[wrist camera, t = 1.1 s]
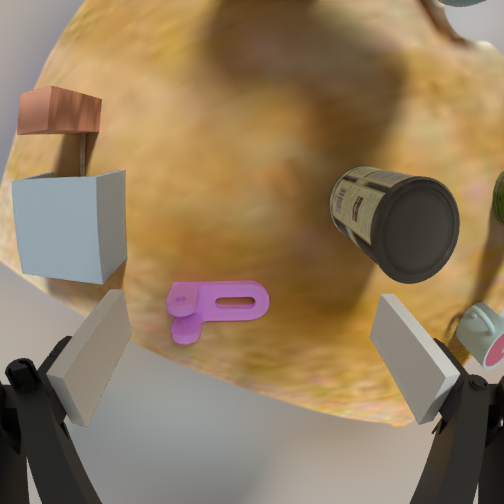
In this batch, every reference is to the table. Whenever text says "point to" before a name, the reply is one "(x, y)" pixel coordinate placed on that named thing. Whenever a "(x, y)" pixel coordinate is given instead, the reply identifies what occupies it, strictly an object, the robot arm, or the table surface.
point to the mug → (482, 334)
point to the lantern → (499, 198)
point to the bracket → (211, 305)
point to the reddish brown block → (59, 114)
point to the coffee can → (397, 220)
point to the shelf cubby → (71, 225)
